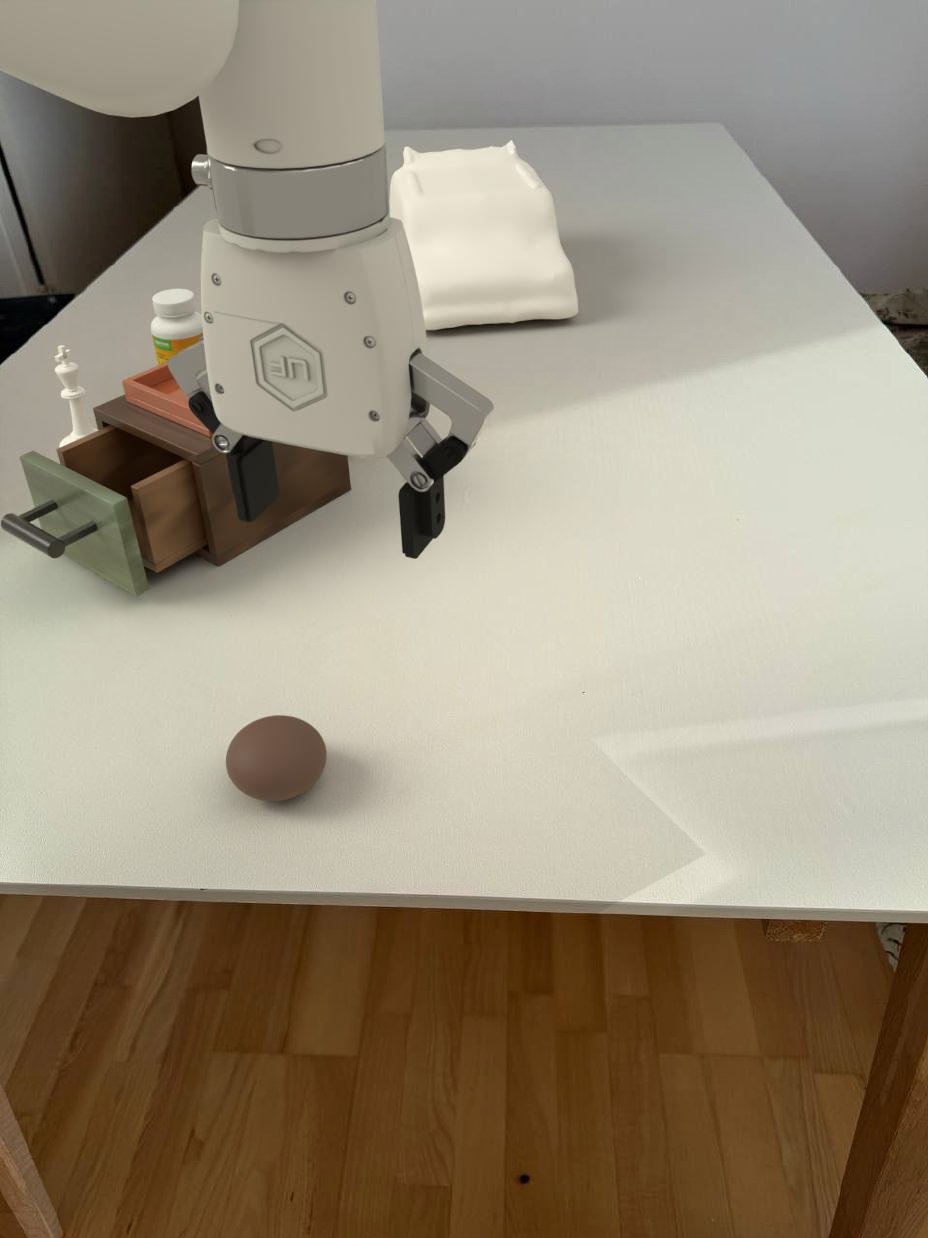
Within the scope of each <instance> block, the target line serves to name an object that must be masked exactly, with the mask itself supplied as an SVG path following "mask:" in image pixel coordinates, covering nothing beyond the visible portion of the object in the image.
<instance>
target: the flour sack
mask: <svg viewBox="0 0 928 1238" xmlns="http://www.w3.org/2000/svg"><path fill="white" fill-rule="evenodd" d="M403 148H404V149H403V152H402V155H403V156H402V157H403V164H402V166H401V167H400V168H397V169H396V170H395V171H394V173H393V174H392V175H391V179H390V187H389V205H390V217H391V218H396V219H399V220H401V221H402V223H403V227H404V230H405V233H406V236H407V240H408V243H409V247H410V251H411V255H412V259H413V263H414V267H415V271H416V276H417V281H418V286H419V291H420V296H421V303H422V309H423V316H424V322H425V330H426V331H438V330H441V329H451V328H457V327H462V326H471V325H472V326H473V325H476V326H477V325H478V326H479V325H480V326H481V325H487V324H490V325H491V324H495V325H496V324H506V323H507V324H508V323H509V324H514V323H517V322H525V321H532V320H564V319H570V318H572V317H575V316H576V315H578V314H579V297H578V293H577V289H576V281H575V274H574V269H573V265H572V263H571V261H570V260H569V258H568V257H567V255H566V253H565V251H564V248H563V247H562V244H561V240H560V235H559V234H560V233H559V229H558V221H557V214H556V208H555V204H554V199H553V195H552V192H551V191H550V190H549V189H548V187H547V186H546V185H545V184H544V183H543V181H542V179H541V178H540V177H539V175H538V173H537V171H536V170H535V169H534V167H532V166H531V165H530V164H529V163H528V162H526V161H525V160H523V159H522V158H520V157H519V154H518V151H517V148H516V144H515V143H514V141H513V140H512V139H511V140H510V141H508V142H507V143H505V144H504V145H502V146H493V145H490V146H488V147H482V148H476V149H474V148H473V149H463V148H455V149H446V150H443V151H442V150H441V151H427V152H418V151H417V150H414V149H413V148H411V147H410V146H404V147H403Z"/></svg>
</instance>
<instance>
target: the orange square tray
mask: <svg viewBox="0 0 928 1238" xmlns="http://www.w3.org/2000/svg"><path fill="white" fill-rule="evenodd" d="M121 383H122V388H123V391H124V394H125V396H126V401H127V402H129V403H132V404H134V405H136V406H139V407H141V408H143V409H146V410H148V411H150V412H153V413H155V414H157V415H160V416H162V417H164V418H166V419H169V420H171V421H173V422H176V423H178V424H180V425H183V426H185V427H187V428H190V429H192V430H194V431H197V432H199V433H201V434H204V435H206V436H208V437H212V436H213V434H212V433H211V432H210V431H209V430H208V429H207V428H206V426H205V425H204V424H203V423H202V422H201V421H200V420H199V419H198V418H197V417H196V416H195V415H194V414H193V413H192V411H191V410H190V408H189V404H188V401H189V398H188V396H187V395H184V393H183V391H182V390H181V388H180V387H179V385H178V383H177V382H176V380H175V378H174V377H173V375H172V373H171V372H170V370H169V368H168V362H165V363H163V364H161V365H158V364H157V365H156V366H153V367H151V368H149V369H146V370H144V371H142V372H139V373H136V374H135V375H132V376H130V377H128V378H125V379H123V380H122V381H121Z"/></svg>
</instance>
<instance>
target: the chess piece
mask: <svg viewBox="0 0 928 1238" xmlns="http://www.w3.org/2000/svg"><path fill="white" fill-rule="evenodd" d="M56 348H57V352H58V354H57V355H54V361H55V362H58V363H60V364H58V365H57V366H55V368H54V373H55V374H56V376H57V377H58V378H59V380H60V381H61V383H62V385H63V386H64V388H63V389H62V390H61V391H60V397H61V398H63V399H66V400H68V402H69V408H70V415H71V423H72V431H71V432H70V434H69V435H67V436H65V437H64V438H63V439H62V440H61V441H60V443H59V447H58V448H60V447H62V446H65V445H67V444H69V443H71V442H74V441H76V440H78V439H80V438H83V437H85V436H87V435H89V434H91V433H94V432H96V431H98V429H97V428H95V427H92V424H91V422H90V419H89V417H88V415H87V412H86V410H85V407H84V405H83V402H82V399H81V397H83V396H84V395H85V394H86V390H85V388H84V387H83V386H81V385H78V381H79V370H80V369H79V368H80V367H79V365H78V364H77V363H76V362H70V361H69V357H71V356H72V355H73V352H72V349H66V347H65V345H63V344H60V345H59V346H57V347H56Z"/></svg>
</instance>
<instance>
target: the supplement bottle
mask: <svg viewBox="0 0 928 1238" xmlns="http://www.w3.org/2000/svg"><path fill="white" fill-rule="evenodd" d="M151 301H152V307H153V311H154V313H155V315H156V316H155V317H153V320H152V321H151V323H150V331H151V332H150V333H151V337H152V342H153V346H154V351H155V357H156V361H157V366H158V365H161V364H163V363H165V362H168V360H169V359H170V358H171V357H173V356H174V355H176V354H177V353H179V352H180V351H182V350H183V349H185V348H187V347H190V346H192V345H194V344H196V343H198V342H200V341H202V340H204V337H203V326H202V313H200V312H199V311H196V309H197V302H196V297H195V293H194V291H192V290H190V289H187V288H186V289H185V288H170V289H165V290H161V291H158V292H157V293H155V294H153V296H152V298H151Z"/></svg>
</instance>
